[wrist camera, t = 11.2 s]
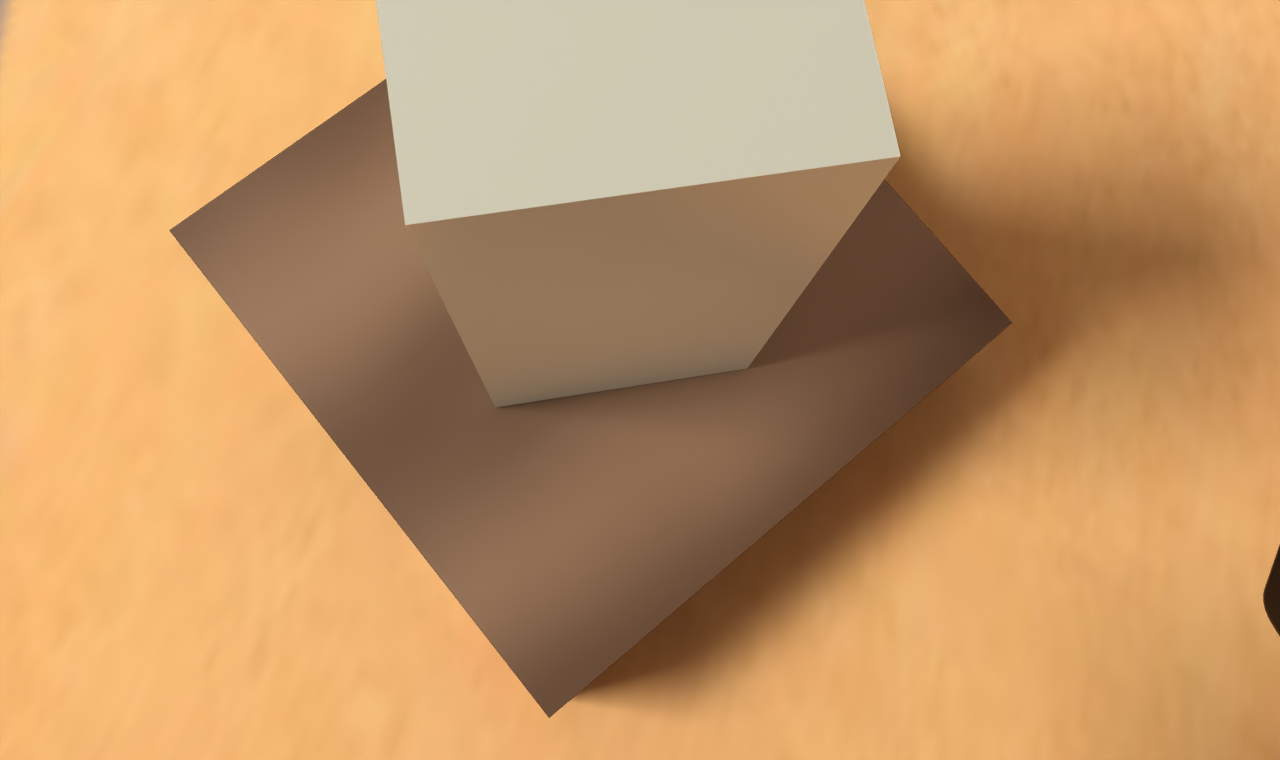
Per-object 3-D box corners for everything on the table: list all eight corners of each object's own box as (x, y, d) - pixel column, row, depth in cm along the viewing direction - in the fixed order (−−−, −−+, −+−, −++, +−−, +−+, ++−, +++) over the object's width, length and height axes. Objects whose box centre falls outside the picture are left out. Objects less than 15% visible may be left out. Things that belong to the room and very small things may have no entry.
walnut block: (950, 358, 24) (1012, 323, 21) (554, 695, 22) (549, 718, 19) (630, -7, 25) (638, -98, 22) (229, 280, 23) (169, 230, 20)
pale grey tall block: (747, 368, 20) (900, 156, 10) (495, 407, 20) (405, 225, 10) (702, 136, 21) (803, -261, 11) (461, 168, 21) (348, -214, 11)
